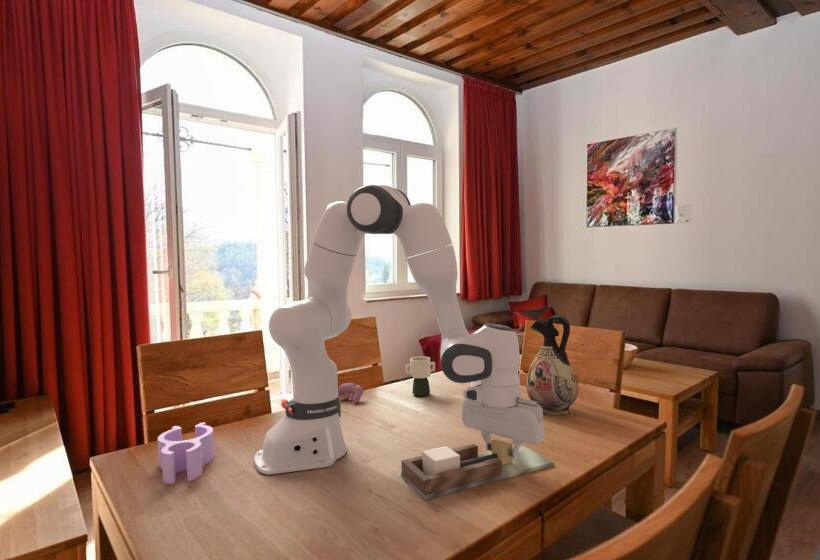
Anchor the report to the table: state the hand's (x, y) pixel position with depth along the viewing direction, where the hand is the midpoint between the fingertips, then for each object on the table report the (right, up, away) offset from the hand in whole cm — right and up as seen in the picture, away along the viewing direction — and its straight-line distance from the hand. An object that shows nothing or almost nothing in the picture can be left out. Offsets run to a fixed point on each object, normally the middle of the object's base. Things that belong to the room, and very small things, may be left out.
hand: (502, 453), depth 113 cm
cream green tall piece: (-17, 0, +58) cm, 61 cm away
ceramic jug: (+23, 0, +36) cm, 43 cm away
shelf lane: (-5, -3, -2) cm, 7 cm away
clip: (-76, -5, +6) cm, 76 cm away
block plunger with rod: (-8, -2, -4) cm, 9 cm away
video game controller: (-42, -2, +54) cm, 69 cm away
